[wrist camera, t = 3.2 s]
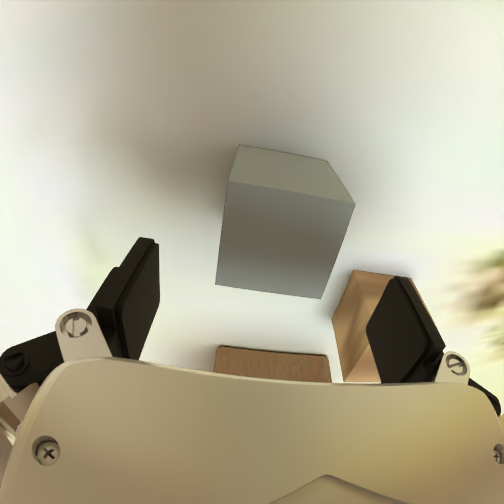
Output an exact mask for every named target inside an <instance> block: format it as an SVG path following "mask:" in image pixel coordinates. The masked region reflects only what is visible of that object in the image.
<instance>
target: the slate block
mask: <svg viewBox="0 0 504 504" xmlns="http://www.w3.org/2000/svg"><path fill="white" fill-rule="evenodd" d="M354 207H355V202H354V201H353V199H352V198H351V196H350V195H349V193H348V192H347V190H346V188H345V187H344V185H343V184H342V182H341V181H340V179H339V178H338V176H337V175H336V173H335V172H334V170H333V169H332V167H331V166H330V165H329V163H328V162H327V161H324V160H320V159H315V158H310V157H305V156H301V155H296V154H290V153H285V152H280V151H274V150H269V149H263V148H257V147H251V146H244V145H239V148H238V151H237V154H236V157H235V160H234V164H233V167H232V170H231V173H230V176H229V179H228V185H227V192H226V200H225V207H224V215H223V223H222V231H221V239H220V247H219V255H218V264H217V273H216V281H215V285H222V286H228V287H235V288H242V289H248V290H255V291H262V292H270V293H277V294H284V295H292V296H300V297H308V298H316V299H321V297H322V295H323V292H324V290H325V287H326V285H327V282H328V280H329V277H330V274H331V272H332V269H333V266H334V264H335V261H336V258H337V256H338V253H339V250H340V247H341V245H342V242H343V239H344V236H345V233H346V230H347V228H348V225H349V222H350V219H351V216H352V213H353V210H354Z"/></svg>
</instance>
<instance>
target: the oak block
mask: <svg viewBox="0 0 504 504" xmlns="http://www.w3.org/2000/svg"><path fill="white" fill-rule="evenodd" d="M393 277H394V276H392V275H385V274H379V273H372V272H365V271H359V270H353V273H352V275H351V277H350V280H349V282H348V284H347V287H346V289H345V291H344V294H343V296H342V298H341V300H340V303H339V305H338V307H337V309H336V311H335V314H334V316H333V318H332V323H333V328H334V333H335V338H336V343H337V348H338V354H339V359H340V364H341V370H342V375H343V381H344V382H381V380H380V377H379V373H378V370H377V367H376V363H375V360H374V357H373V354H372V351H371V347H370V344H369V341H368V338H367V335H366V325H367V323H368V321H369V320H370V318H371V316H372V314H373V312H374V310H375V308H376V306H377V304H378V302H379V300H380V298H381V296H382V294H383V292H384V290H385V288H386V286H387V284H388V282H389V280H390V279H393ZM408 279H409V280H410V282H411V284H412V285H413V287H414V289H415V290H416V292H417V294H418V296H419V297H420V299H421V301H422V302H423V300H422V298H421V296H420V294H419V292H418V290H417V288H416V287H415V285H414V283H413V281H412V279H411V278H408ZM423 304H424V306H425V308H426V310H427V311H428V309H427V307H426V305H425V303H424V302H423ZM428 313H429V311H428ZM429 315H430V313H429ZM430 317H431V315H430ZM431 319H432V317H431ZM432 320H433V319H432ZM433 322H434V321H433ZM434 324H435V323H434ZM435 326H436V325H435ZM436 328H437V327H436ZM437 330H438V329H437ZM438 332H439V331H438Z"/></svg>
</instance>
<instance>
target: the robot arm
mask: <svg viewBox="0 0 504 504" xmlns="http://www.w3.org/2000/svg"><path fill="white" fill-rule="evenodd" d="M159 302H160V283H159V244H157V243H155V241H154V239H150V238H143V237H139V238H138V240H137V241H136V243H135V244H134V246H133V247H132V248H131V250H130V251H129V253H128V254H127V256H126V257H125V259H124V260H123V262H122V264H121V265H120V267H114V268H113V269H112V270H111V272H110V273H109V275H108V276H107V278H106V279H105V281H104V282H103V284H102V285H101V287H100V289H99V290H98V292H97V293H96V295H95V296H94V298H93V300H92V301H91V303H90V305H89V306H88V308H87V309H86V310H85V309H71V310H69V311H66V312H65V313H63V314H62V315H60V317H59V318H58V319H57V321H56V324H55V330H56V331H54V332H51V333H48V334H46V335H43V336H40V337H37V338H35V339H32V340H29V341H26V342H24V343H21V344H18V345H16V346H13V347H11V348H9V349H7V350H6V351H5V352H4V353H3V354H2V355H1V357H0V504H504V414H502V415H500V414H501V406H500V403H499V400H498V398H497V397H496V396H494V395H493V394H492V393H490V392H489V391H487V390H486V389H485V388H483V387H482V386H480V385H479V384H477V383H476V382H475V381H473V380H472V379H470V378H469V375H470V367H469V364H468V363H467V361H466V360H465V359H464V357H462V356H461V355H460V354H458V353H456V352H452V351H449V352H446V353H445V354H444V353H443V349H444V348H445V347H446V345H445V343H444V341H443V339H442V338H441V336H440V334H439V332H438V330H437V328H436V326H435V324H434V322H433V320H432V319H431V317H430V315H429V313H428V311H427V310H426V308H425V306H424V304H423V302H422V301H421V299H420V297H419V296H418V294H417V292H416V290H415V289H414V287H413V285H412V284H411V282H410V280H409V279H408V278H406V277H400V276H394V277H393V279H390V280H389V282H388V284H387V286H386V288H385V290H384V292H383V294H382V296H381V298H380V300H379V302H378V304H377V306H376V308H375V310H374V312H373V314H372V316H371V318H370V320H369V321H368V323H367V325H366V335H367V338H368V341H369V344H370V347H371V351H372V354H373V357H374V360H375V363H376V367H377V370H378V373H379V377H380V380H381V384H351V383H317V382H299V381H285V380H273V379H262V378H252V377H243V376H235V375H227V374H219V373H212V372H206V371H199V370H193V369H186V368H180V367H174V366H168V365H163V364H157V363H152V362H145V361H139V358H140V355H141V352H142V349H143V346H144V344H145V341H146V338H147V336H148V333H149V330H150V328H151V325H152V322H153V320H154V317H155V314H156V312H157V309H158V307H159ZM21 421H23V422H22V424H21V426H20V429H19V431H18V434H17V437H16V429H17V426H18V425H19V424H20V423H21ZM52 448H53V449H54V450H52Z"/></svg>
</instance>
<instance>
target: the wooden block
mask: <svg viewBox="0 0 504 504" xmlns="http://www.w3.org/2000/svg"><path fill="white" fill-rule="evenodd" d="M214 373H219V374H227V375H235V376H243V377H252V378H262V379H273V380H285V381H299V382H317V383H332V380H331V373H330V367H329V360H328V358H327V357H325V356H313V355H299V354H286V353H275V352H265V351H255V350H246V349H238V348H230V347H219V349H218V350H217V353H216V359H215V366H214Z"/></svg>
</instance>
